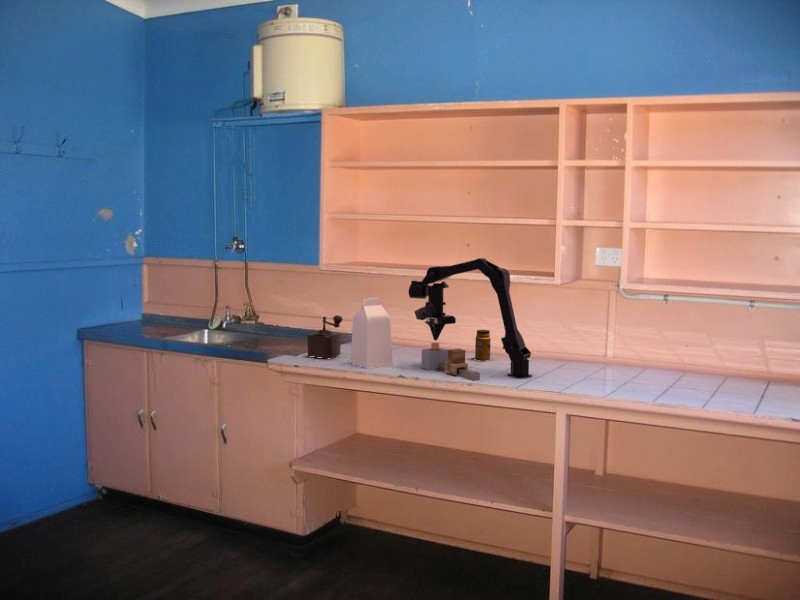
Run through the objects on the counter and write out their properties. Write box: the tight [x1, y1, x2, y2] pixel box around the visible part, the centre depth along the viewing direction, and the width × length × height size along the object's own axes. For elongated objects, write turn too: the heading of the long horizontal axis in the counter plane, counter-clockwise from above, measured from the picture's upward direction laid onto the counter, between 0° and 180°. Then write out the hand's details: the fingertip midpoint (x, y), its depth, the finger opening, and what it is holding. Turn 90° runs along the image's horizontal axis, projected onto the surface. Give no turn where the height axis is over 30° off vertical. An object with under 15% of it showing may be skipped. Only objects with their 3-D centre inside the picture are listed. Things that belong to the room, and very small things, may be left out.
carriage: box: [444, 348, 469, 376], centre depth 295 cm, size 6×6×8 cm
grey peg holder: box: [421, 347, 449, 371], centre depth 307 cm, size 5×9×7 cm, turn 121°
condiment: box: [467, 329, 494, 362], centre depth 325 cm, size 7×8×12 cm
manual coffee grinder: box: [307, 314, 343, 359], centre depth 328 cm, size 16×11×18 cm
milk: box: [350, 297, 394, 369], centre depth 311 cm, size 12×12×26 cm
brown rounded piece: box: [430, 342, 440, 351], centre depth 306 cm, size 3×3×3 cm
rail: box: [435, 363, 481, 381], centre depth 294 cm, size 22×6×2 cm, turn 31°
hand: (435, 340), depth 306 cm, fingers closed
